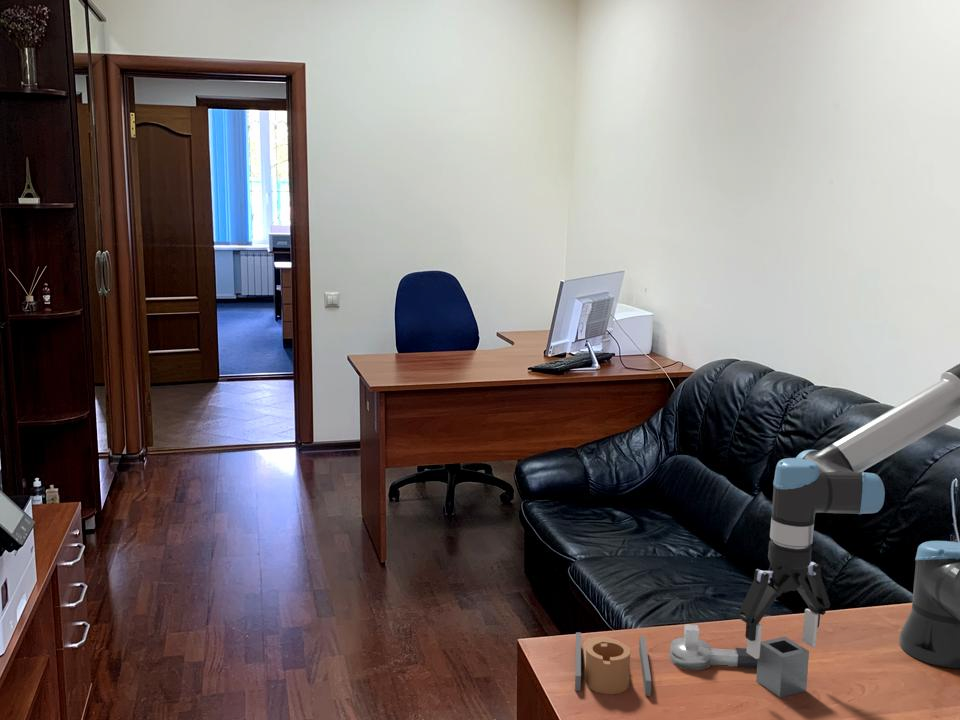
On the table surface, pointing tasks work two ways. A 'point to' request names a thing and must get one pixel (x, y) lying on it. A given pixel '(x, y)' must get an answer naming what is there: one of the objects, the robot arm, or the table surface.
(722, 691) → the table surface
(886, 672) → the table surface
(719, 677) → the table surface
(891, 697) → the table surface
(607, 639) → the tan slotted hollow cylinder
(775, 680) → the socket
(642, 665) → the bar
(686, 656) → the ratchet
